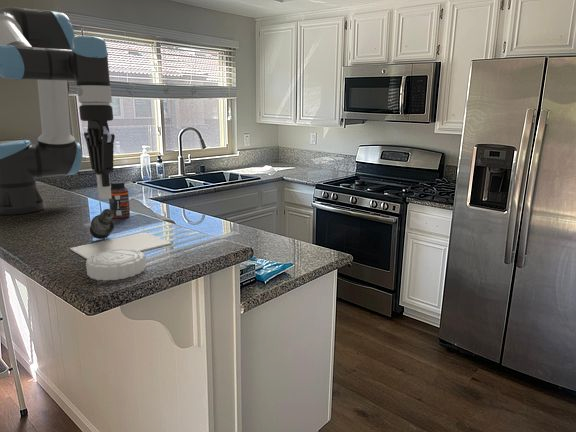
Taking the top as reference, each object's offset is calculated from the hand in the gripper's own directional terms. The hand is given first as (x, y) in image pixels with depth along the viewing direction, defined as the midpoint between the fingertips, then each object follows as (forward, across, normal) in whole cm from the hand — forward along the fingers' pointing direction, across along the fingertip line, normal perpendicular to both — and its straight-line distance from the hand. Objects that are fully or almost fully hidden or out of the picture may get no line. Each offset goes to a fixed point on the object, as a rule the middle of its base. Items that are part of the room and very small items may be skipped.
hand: (105, 198), depth 114 cm
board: (+12, +7, 0) cm, 13 cm away
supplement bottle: (+12, -24, +14) cm, 30 cm away
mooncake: (+12, +22, -8) cm, 26 cm away
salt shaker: (+9, -5, 0) cm, 11 cm away
